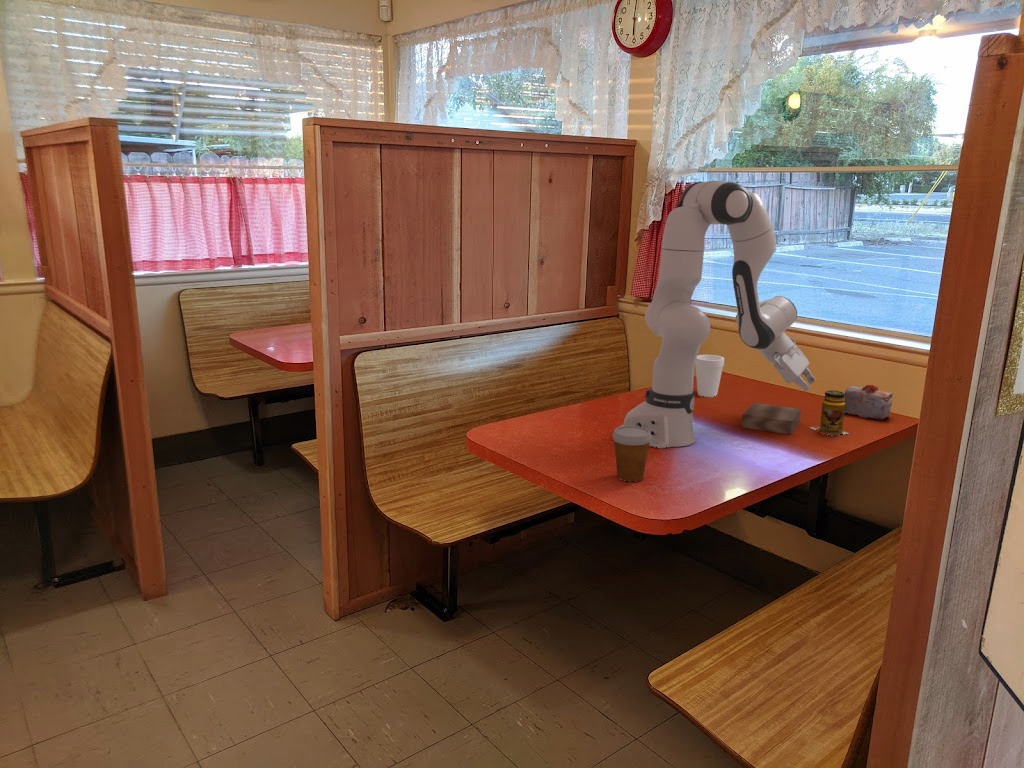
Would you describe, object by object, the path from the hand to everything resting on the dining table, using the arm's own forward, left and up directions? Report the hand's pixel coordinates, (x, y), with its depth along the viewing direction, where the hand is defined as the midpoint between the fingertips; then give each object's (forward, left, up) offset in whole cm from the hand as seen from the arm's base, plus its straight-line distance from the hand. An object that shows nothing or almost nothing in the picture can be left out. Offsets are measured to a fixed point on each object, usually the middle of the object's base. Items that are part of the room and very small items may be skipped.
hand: (811, 385), depth 218 cm
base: (-10, -2, -13) cm, 16 cm away
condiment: (+6, 0, -13) cm, 14 cm away
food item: (+14, +22, -13) cm, 29 cm away
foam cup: (-36, +22, -13) cm, 44 cm away
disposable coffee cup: (-31, -63, -13) cm, 72 cm away
